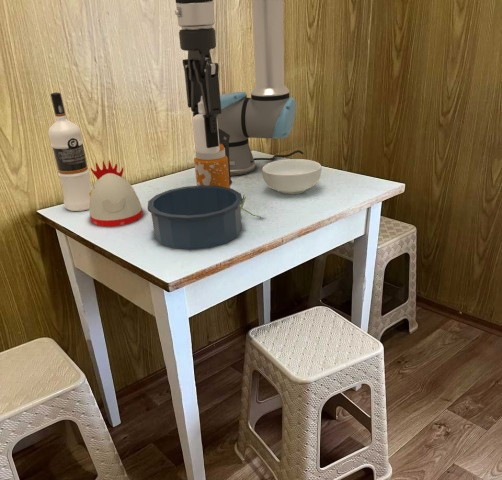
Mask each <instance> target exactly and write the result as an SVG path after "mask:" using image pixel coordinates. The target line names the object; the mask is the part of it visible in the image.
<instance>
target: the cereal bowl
mask: <svg viewBox="0 0 502 480" xmlns="http://www.w3.org/2000/svg"><path fill="white" fill-rule="evenodd" d="M261 170H262V178H263V181H264V183H265V185H267V187H268V188H270V189H272V190H274V191H277V192H279V193H280V194H284V195H300V194H303V193H304V192H305V191H306V190H309V189H311V188H312V187H314V186H315V185H316V184H317V183H319V180H320V178H321V175H322V165H321V163H319V162H318V161H315V160H312V159H302V158H289V159H287V158H286V159H280V160H279V159H278V160H275V161H271V162H268V163H265V165H263V167H262V169H261Z"/></svg>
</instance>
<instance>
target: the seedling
mask: <svg viewBox="0 0 502 480" xmlns="http://www.w3.org/2000/svg"><path fill="white" fill-rule="evenodd" d="M246 198H247V196H245V194H243V195H242V199H243V203H242V204H241V205H240V208H241V210H242V211H245V212H246V213H248V214H250V215H251V216H253V217H258V218H260V219H261V218H262V216H259V215H256V214H253V213H251V212H250V211H248V210H247V209H244V208H243V207H244V204H245V201H246Z"/></svg>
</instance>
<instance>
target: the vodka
mask: <svg viewBox="0 0 502 480" xmlns="http://www.w3.org/2000/svg"><path fill="white" fill-rule="evenodd" d="M50 98H51V103H52V107H53V112H54V114H55V122H53V124H52V125H51V126H50V127H49V128H48V131H47V135H48V139H49V141H50V147H51V148H52V152H53V156H54V160H55V163H56V167H57V171H58V173H57V175H58V177H59V181H60V184H61V189H62V196H63V200H62V201H63V205H64V208H65V209H66V210H68V211H72V212H83V211H84V212H85V211H89V205H90V195H89V193H90V191H91V190H92V188H93V184H92V179H91V173H90V169H89V166H88V161H87V157H86V152H85V147H84V140H83V137H82V131H81V129H80V127H79V126H78V125H77V124H76V123H74V122H72V121H71V120H69V119H67V115H66V110H65V106H64V102H63V97H62V93H61V92H52V93H50Z"/></svg>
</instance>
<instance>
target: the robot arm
mask: <svg viewBox="0 0 502 480" xmlns="http://www.w3.org/2000/svg"><path fill="white" fill-rule="evenodd" d="M251 3H252V4H251V5H252V28H253V51H254V52H253V53H254V55H253V56H254V77H255V78H254V80H255V86H254V87H253V89H252V90H251V91H250V97H248V94H247V92H246V91H235V92H228V93H224V94H221V92H220V81H219V80H220V79H219V71H220V65H219V63H218V62H213V60H212V55H211V50H213V49H216V48H217V38H216V37H217V36H216V29H215V28H214V27H213V26H214V25H215V23H216V21H215V7H214V6H215V5H214V0H175V7H176V9H175V10H174V15H176V17H177V24H178V25H177V26H178V27H180V28H181V29H179V31H178V38H179V47H180V49H181V50H182V51H184V52H187V58H184V59H182V66H183V70H184V71H183V72H184V80H185V90H186V101H187V103H186V104H187V108H189V109H190V110H191V112H192V118H193V117H194V116H195V115H197V114H199V111H198V103H199V102H200V101H201V96H202V98H203V103H204V109H205V115H203V118H204V124H205V135H206V146H207V148H212V147H217V146H219V142H218V129H217V122H218V128H219V129H221V130H222V131H224V132H226V133H227V134H229V135H230V138H229V160H230V175H231V177H234V176H241V175H246V174H249V173H252V172H254V171H255V169H256V162H255V161H274V160H275V158H288V157H291V156H293V155H295V154H297V153H299V154H301V155H304V154H305V153H304V152H303V151H302V150H300V149H296V150H294V151H292V152H290V153H288V154H275V155H273V156H272V157H254V155H253V153H252V150H251V147H250V143H249V139H272V140H276V139H285V138H287V137H289V135H290V134H291V132H292V129H293V126H294V122H295V118H296V111H297V110H296V107H297V105H296V104H297V103H296V99H295V98H293V96H290V89H288V87H287V86H286V85H285V43H284V42H285V41H284V40H285V38H284V37H285V36H284V35H285V34H284V33H285V32H284V29H285V28H284V27H285V26H284V0H251ZM226 139H227V138H226V137H224V140H226Z"/></svg>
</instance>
